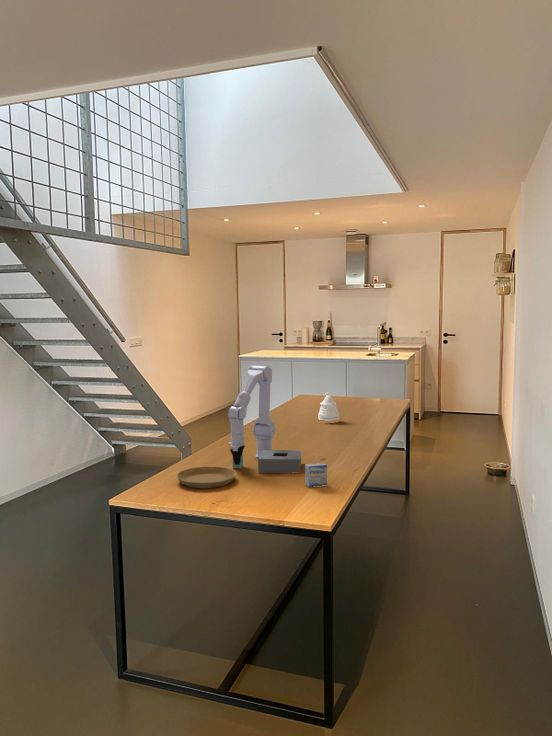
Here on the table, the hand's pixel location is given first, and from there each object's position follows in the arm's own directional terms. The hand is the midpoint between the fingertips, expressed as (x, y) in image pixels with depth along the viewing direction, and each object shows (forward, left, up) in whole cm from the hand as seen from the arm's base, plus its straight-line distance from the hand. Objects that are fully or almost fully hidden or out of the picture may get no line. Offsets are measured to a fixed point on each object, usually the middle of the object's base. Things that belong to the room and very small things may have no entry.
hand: (237, 463), depth 257 cm
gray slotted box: (0, +19, -2) cm, 19 cm away
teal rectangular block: (0, 0, -2) cm, 2 cm away
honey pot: (-104, +42, -2) cm, 112 cm away
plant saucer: (+21, -10, -2) cm, 23 cm away
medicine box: (+25, +35, -2) cm, 43 cm away
